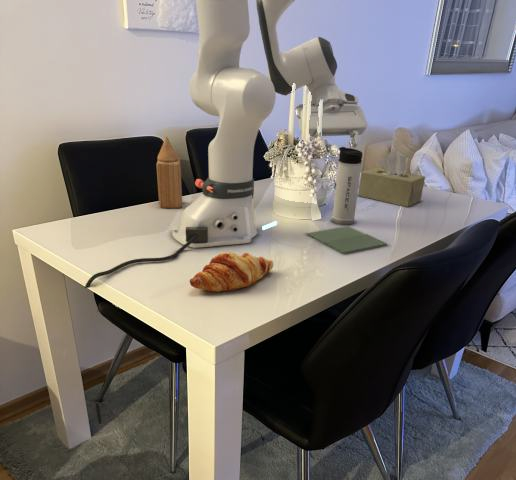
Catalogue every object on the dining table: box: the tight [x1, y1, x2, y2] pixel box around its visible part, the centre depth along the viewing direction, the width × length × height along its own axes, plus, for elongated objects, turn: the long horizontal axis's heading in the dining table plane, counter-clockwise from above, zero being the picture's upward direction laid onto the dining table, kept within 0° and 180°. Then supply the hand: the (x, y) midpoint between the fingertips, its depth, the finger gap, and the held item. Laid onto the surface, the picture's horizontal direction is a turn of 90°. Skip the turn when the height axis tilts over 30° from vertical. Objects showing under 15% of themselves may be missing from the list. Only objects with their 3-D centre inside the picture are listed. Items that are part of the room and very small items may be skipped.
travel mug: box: [331, 146, 363, 226], centre depth 141 cm, size 6×7×20 cm
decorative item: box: [156, 136, 183, 209], centre depth 149 cm, size 7×7×20 cm
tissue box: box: [357, 148, 426, 208], centre depth 165 cm, size 19×10×16 cm, turn 51°
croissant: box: [189, 252, 274, 293], centre depth 106 cm, size 21×10×8 cm, turn 129°
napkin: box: [306, 226, 388, 255], centre depth 133 cm, size 14×16×1 cm
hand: (339, 147), depth 141 cm, fingers open, 8 cm apart
